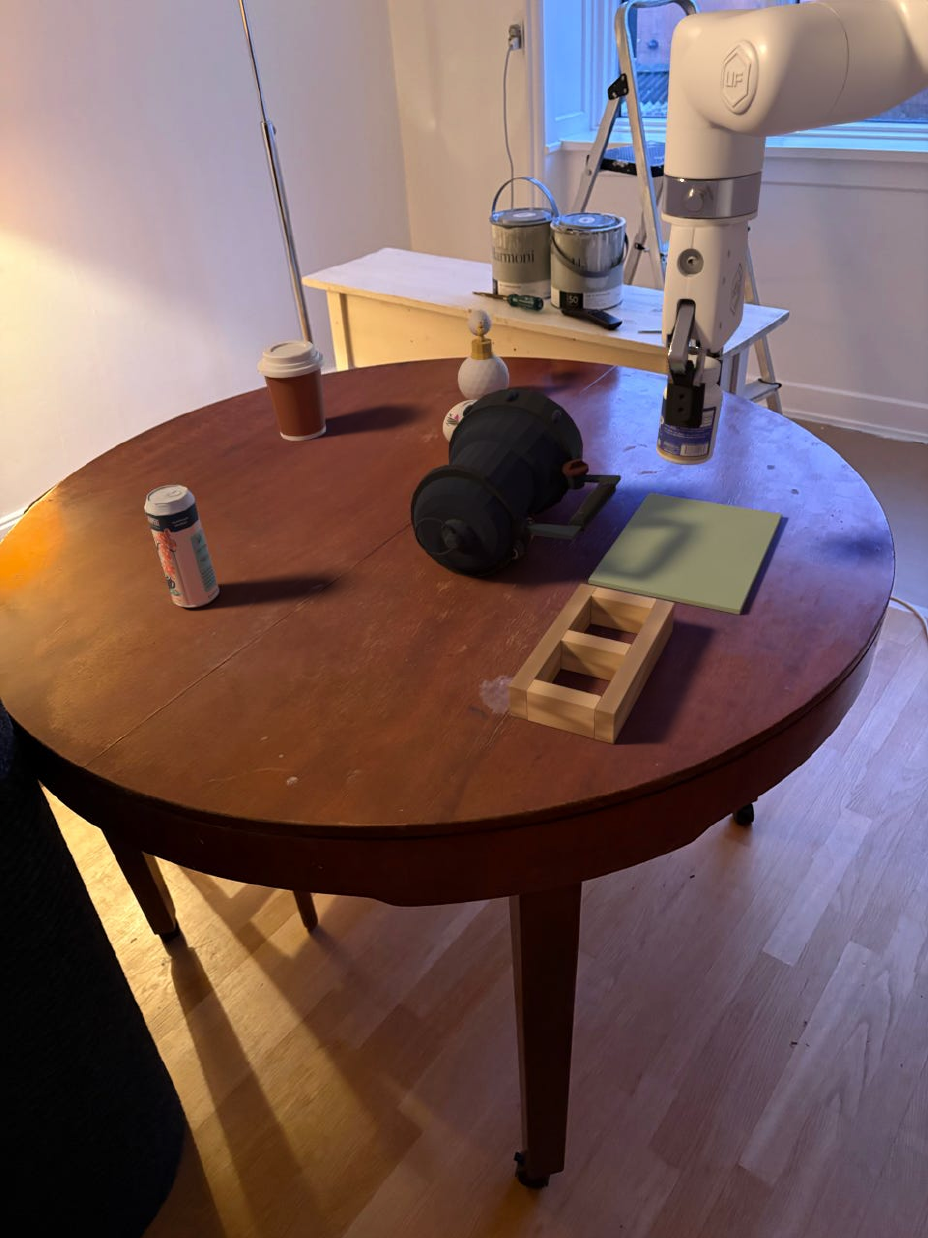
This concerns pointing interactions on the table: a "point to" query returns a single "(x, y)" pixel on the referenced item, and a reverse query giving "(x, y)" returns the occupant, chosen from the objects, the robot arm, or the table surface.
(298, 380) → the coffee cup
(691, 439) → the pill bottle
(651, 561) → the mat
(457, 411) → the white rounded ceramic piece
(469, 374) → the perfume bottle
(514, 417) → the flashlight
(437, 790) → the table surface
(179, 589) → the beer can
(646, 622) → the rack
